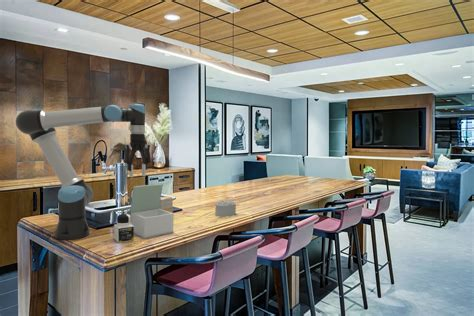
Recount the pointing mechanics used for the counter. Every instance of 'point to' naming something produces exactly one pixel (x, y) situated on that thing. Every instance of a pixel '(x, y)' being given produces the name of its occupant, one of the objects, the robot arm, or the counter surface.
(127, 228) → the medicine bottle
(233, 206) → the lumpy-topped squat cylinder
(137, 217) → the storage box
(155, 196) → the lid
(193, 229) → the counter surface
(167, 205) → the supplement box
